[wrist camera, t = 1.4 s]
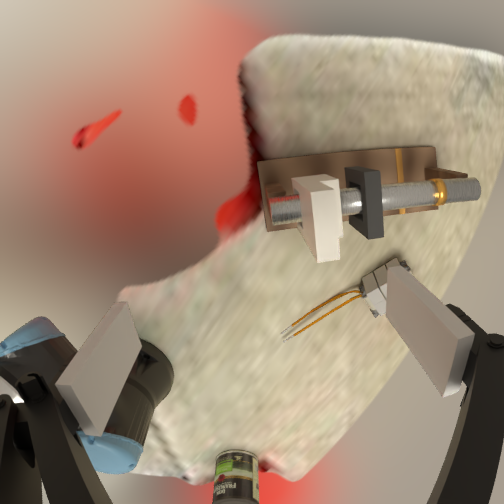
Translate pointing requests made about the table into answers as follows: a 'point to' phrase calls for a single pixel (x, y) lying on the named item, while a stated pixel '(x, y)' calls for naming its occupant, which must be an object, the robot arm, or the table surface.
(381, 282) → the electrical component
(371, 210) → the dark gray nut plate
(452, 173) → the pipe stand
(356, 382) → the table surface
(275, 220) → the steel pipe
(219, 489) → the coffee can
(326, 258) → the white u-shaped bracket
